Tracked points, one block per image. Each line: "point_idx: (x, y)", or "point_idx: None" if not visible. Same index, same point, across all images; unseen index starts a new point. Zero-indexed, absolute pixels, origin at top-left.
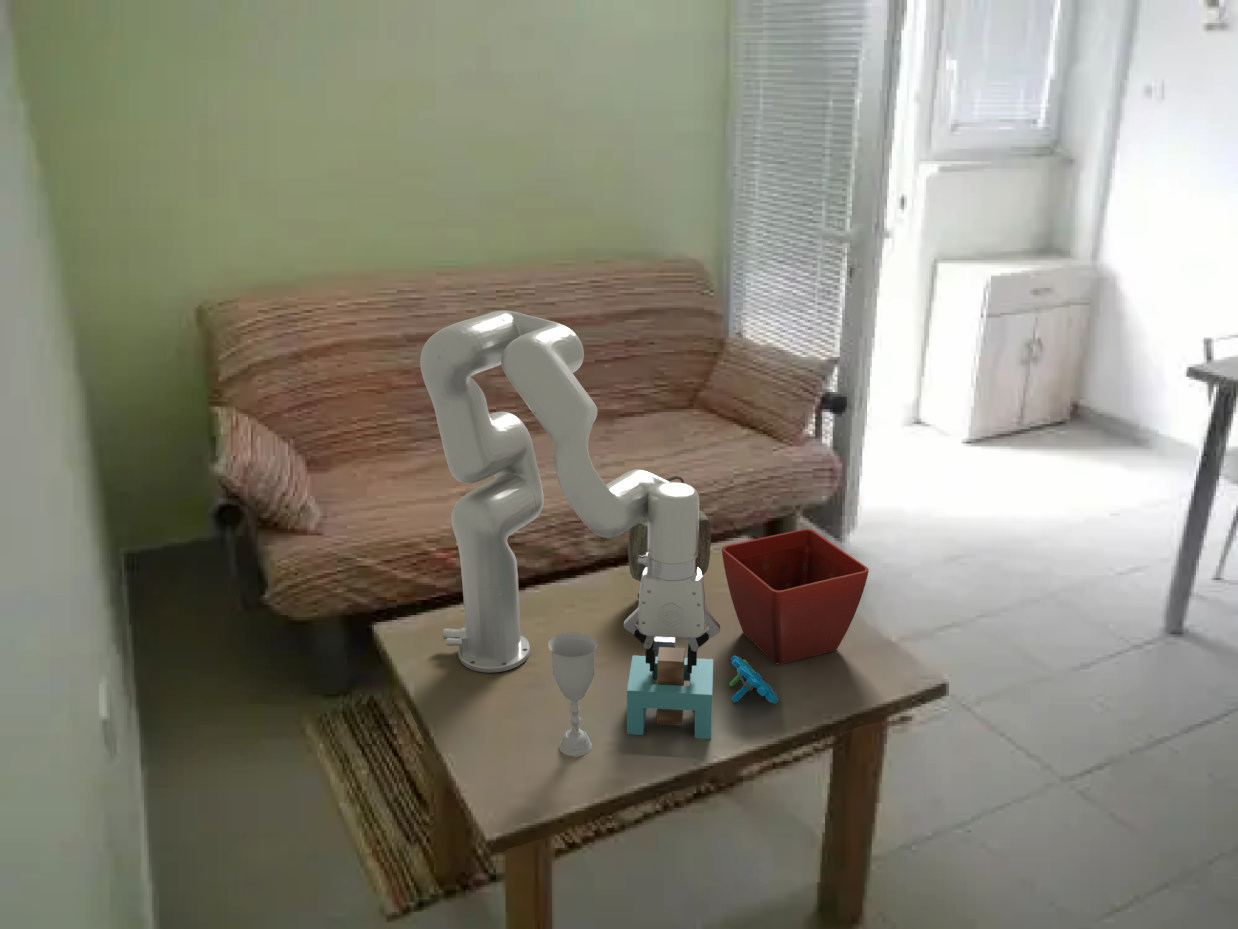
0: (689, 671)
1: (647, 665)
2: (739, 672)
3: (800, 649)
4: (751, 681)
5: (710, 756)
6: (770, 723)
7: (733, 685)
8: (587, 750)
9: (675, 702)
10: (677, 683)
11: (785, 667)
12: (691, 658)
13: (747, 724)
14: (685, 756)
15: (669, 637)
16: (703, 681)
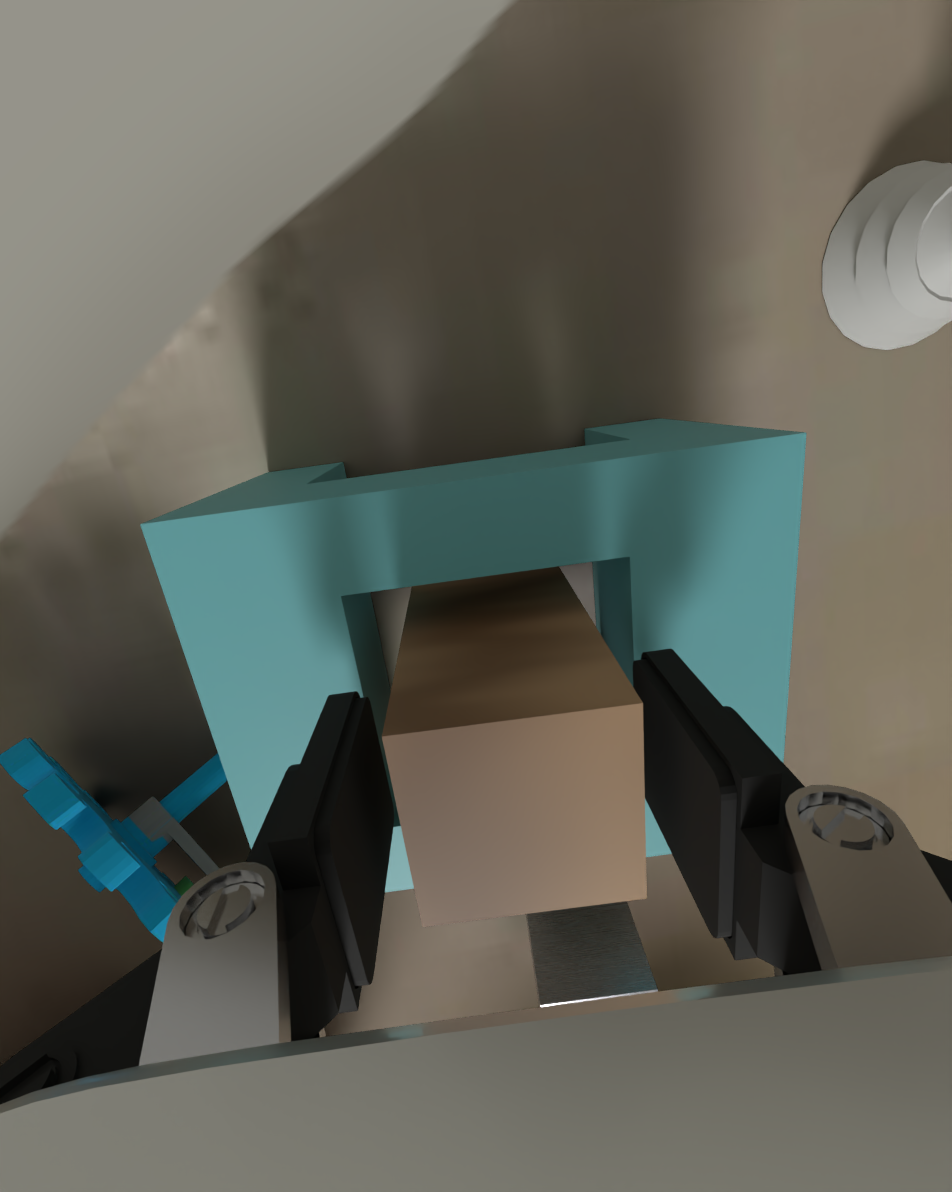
0: (344, 699)
1: None
2: (110, 844)
3: None
4: (39, 796)
5: (232, 329)
6: (46, 643)
7: None
8: (849, 219)
9: (428, 475)
10: (441, 628)
11: (117, 975)
12: (297, 783)
13: (140, 614)
14: (352, 300)
15: None
16: (258, 674)
